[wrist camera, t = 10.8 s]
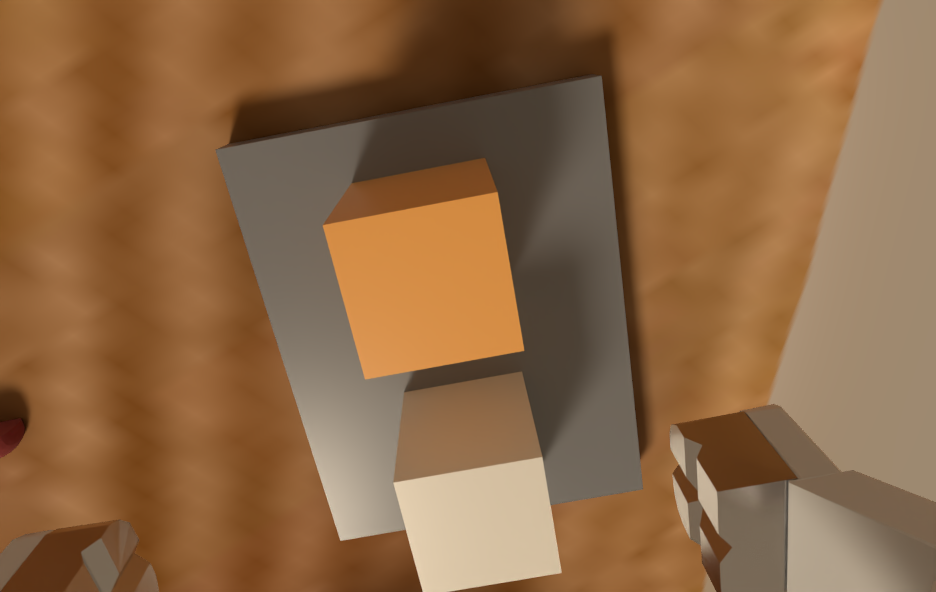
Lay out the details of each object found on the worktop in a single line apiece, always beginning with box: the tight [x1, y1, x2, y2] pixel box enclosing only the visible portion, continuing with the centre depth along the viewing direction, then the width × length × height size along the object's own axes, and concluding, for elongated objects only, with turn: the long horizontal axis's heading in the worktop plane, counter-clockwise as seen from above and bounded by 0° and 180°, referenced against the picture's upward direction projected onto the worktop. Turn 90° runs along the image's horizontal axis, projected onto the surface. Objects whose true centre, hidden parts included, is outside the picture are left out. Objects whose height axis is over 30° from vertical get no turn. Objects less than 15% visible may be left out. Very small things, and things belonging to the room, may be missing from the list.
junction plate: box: [216, 74, 643, 592], centre depth 24 cm, size 18×14×8 cm
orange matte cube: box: [323, 158, 524, 380], centre depth 22 cm, size 5×5×6 cm
